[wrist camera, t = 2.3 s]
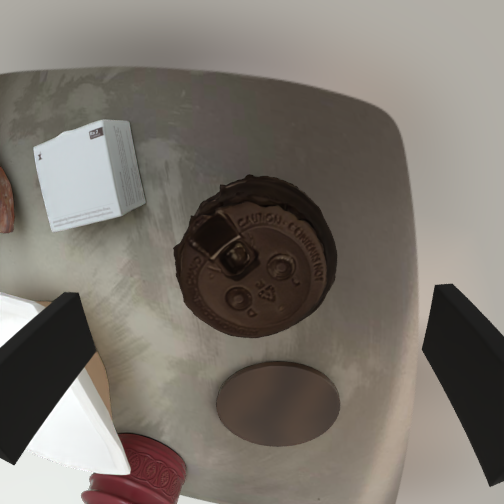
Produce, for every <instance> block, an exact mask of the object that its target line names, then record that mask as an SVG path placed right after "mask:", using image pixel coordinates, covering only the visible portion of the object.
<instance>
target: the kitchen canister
mask: <svg viewBox="0 0 504 504" xmlns="http://www.w3.org/2000/svg"><path fill="white" fill-rule="evenodd" d="M118 437H119V439H120V442H121V444H122V446H123V449H124V452H125V454H126V457H127V460H128V463H129V465H130V468H131V471H130V474H127V475H114V474H99V473H93V474H92V475H91V476H90V479H89V480H90V486H89V489H88V490H87V491H84V492H83V493H82V494H81V498H82V500H83V502H84V503H85V504H177V502H178V498H179V495H180V491H181V488H182V485H183V484H184V482H185V478H186V465H185V463H184V461H183V460H182V459H181V457H180V456H179V455H178V454H176V453H175V452H174V451H173V450H171V449H170V448H168V447H167V446H165V445H163V444H161V443H159V442H157V441H155V440H152V439H150V438H147V437H144V436H140V435H135V434H118Z"/></svg>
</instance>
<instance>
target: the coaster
mask: <svg viewBox="0 0 504 504" xmlns="http://www.w3.org/2000/svg"><path fill="white" fill-rule="evenodd" d="M216 407H217V412H218V416H219V418H220V420H221V421H222V423H223V424H224V425H225V426H226V427H227V428H228V429H229V430H230V431H231V432H232V433H234V434H235V435H237V436H238V437H240V438H242V439H244V440H246V441H249V442H252V443H255V444H259V445H264V446H276V447H281V446H292V445H297V444H301V443H305V442H308V441H310V440H312V439H315V438H316V437H318V436H320V435H321V434H323V433H324V432H326V431H327V430H328V429H329V428H330V427H331V426H332V425H333V423H334V422H335V420H336V418H337V416H338V414H339V410H340V400H339V394H338V391H337V389H336V387H335V385H334V384H333V383H332V382H331V380H330V379H329V378H328V377H326V376H325V375H324V374H322V373H321V372H319V371H318V370H315V369H313V368H311V367H308V366H305V365H302V364H298V363H292V362H280V361H276V362H265V363H259V364H255V365H251V366H249V367H246V368H243V369H241V370H240V371H238V372H236V373H235V374H233V375H232V376H230V377H229V378H228V379H227V380H226V381H225V382H224V384H223V385H222V387H221V389H220V390H219V394H218V397H217V403H216Z"/></svg>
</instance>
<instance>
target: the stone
mask: <svg viewBox="0 0 504 504" xmlns="http://www.w3.org/2000/svg"><path fill="white" fill-rule="evenodd" d="M14 218H15V216H14V200H13V193H12V190H11V185H10V182H9V180H8V179H7V176H6V174H5V173H4V171H3V169H2V168H1V166H0V233H10V232H13V230H14V225H13V224H14Z"/></svg>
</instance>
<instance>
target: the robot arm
mask: <svg viewBox="0 0 504 504" xmlns="http://www.w3.org/2000/svg"><path fill="white" fill-rule="evenodd" d="M422 351H423V353H424V354H425V356H426V358H427V360H428V361H429V363H430V365H431V367H432V369H433V370H434V372H435V374H436V376H437V378H438V380H439V381H440V383H441V385H442V387H443V389H444V391H445V393H446V394H447V396H448V398H449V400H450V402H451V404H452V406H453V408H454V410H455V412H456V414H457V416H458V418H459V420H460V422H461V424H462V426H463V428H464V430H465V432H466V434H467V437H468V439H469V441H470V443H471V445H472V447H473V449H474V452H475V454H476V456H477V458H478V460H479V463H480V465H481V467H482V469H483V472H484V474H485V476H486V479H487V481H488V484H489V486H490V487H491V486H494V485H496V484H498V483H500V482H503V481H504V336H503V335H502V334H501V333H500V332H499V331H498V330H497V329H496V328H495V327H494V325H493V324H492V323H491V322H490V321H489V320H488V319H487V318H486V317H485V316H484V315H483V314H482V313H481V312H480V311H479V310H478V309H477V307H476V306H475V305H473V303H472V302H471V301H470V300H468V298H467V297H465V295H464V294H463V293H462V292H461V291H459V289H457V288H456V287H455V286H454V285H453V284H441V285H435V288H434V293H433V299H432V304H431V309H430V315H429V320H428V324H427V329H426V333H425V338H424V343H423V346H422ZM96 352H97V350H96V347H95V345H94V342H93V339H92V336H91V333H90V330H89V326H88V323H87V320H86V317H85V313H84V310H83V307H82V303H81V300H80V296H79V293H72V292H64V293H63V294H61V295H60V296H59V297H58V298H57V299H55V300H54V301H53V302H52V303H51V304H49V305H48V306H47V307H46V308H45V309H43V310H42V311H41V312H40V313H39V314H38V315H36V316H35V317H34V318H33V319H32V320H31V321H29V322H28V323H27V324H26V325H25V326H24V327H23V328H21V329H20V330H19V331H18V332H17V333H16V334H15V335H14V336H12V337H11V338H10V339H9V340H8V341H7V342H6V343H5V344H4V345H2V346H1V347H0V458H1V459H3V460H5V461H7V462H9V463H11V464H12V465H15V464H16V462H17V461H18V459H19V458H20V456H21V455H22V453H23V452H24V450H25V449H26V447H27V446H28V444H29V443H30V441H31V440H32V439H33V437H34V436H35V434H36V433H37V431H38V430H39V429H40V427H41V426H42V424H43V423H44V421H45V420H46V419H47V417H48V416H49V414H50V413H51V412H52V410H53V409H54V408H55V406H56V405H57V403H58V402H59V401H60V399H61V398H62V397H63V395H64V394H65V392H66V391H67V390H68V388H69V387H70V386H71V384H72V383H73V382H74V380H75V379H76V378H77V376H78V375H79V374H80V372H81V371H82V370H83V369H84V367H85V366H86V365H87V363H88V362H89V361H90V359H91V358H92V357H93V356H94V354H95V353H96Z"/></svg>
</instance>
